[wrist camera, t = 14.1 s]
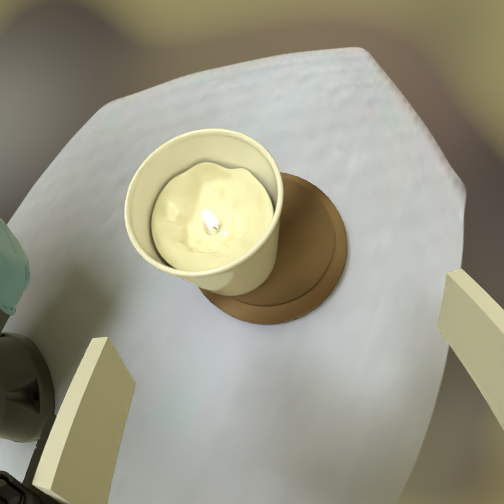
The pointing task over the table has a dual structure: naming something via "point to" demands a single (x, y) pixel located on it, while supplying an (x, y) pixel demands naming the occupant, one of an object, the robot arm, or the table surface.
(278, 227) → the candle holder
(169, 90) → the table surface
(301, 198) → the walnut pedestal
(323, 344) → the table surface
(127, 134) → the table surface
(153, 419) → the table surface
